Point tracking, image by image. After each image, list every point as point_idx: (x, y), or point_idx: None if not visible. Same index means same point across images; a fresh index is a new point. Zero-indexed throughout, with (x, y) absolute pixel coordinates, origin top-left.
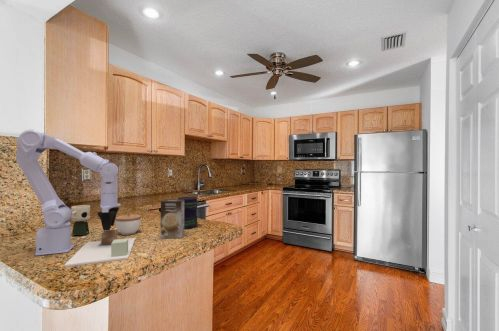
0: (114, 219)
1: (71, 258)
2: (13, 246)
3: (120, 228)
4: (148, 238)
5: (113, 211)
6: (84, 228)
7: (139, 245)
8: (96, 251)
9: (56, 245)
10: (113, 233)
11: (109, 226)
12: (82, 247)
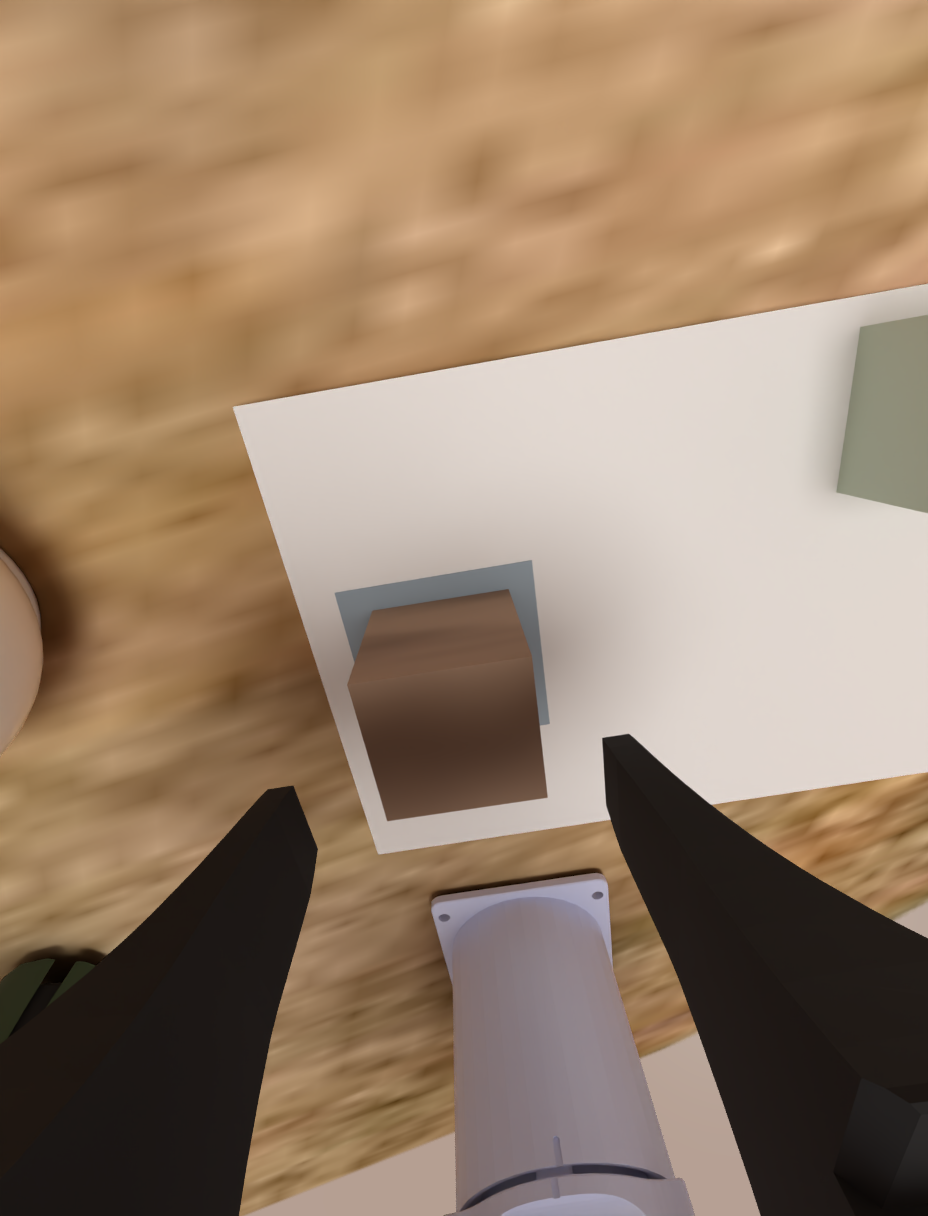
0: (239, 872)
1: (822, 782)
2: (370, 1143)
3: (22, 706)
4: (206, 174)
5: (132, 1149)
6: None
7: (573, 247)
8: (713, 675)
9: (616, 982)
10: (529, 665)
11: (665, 777)
12: (538, 825)
